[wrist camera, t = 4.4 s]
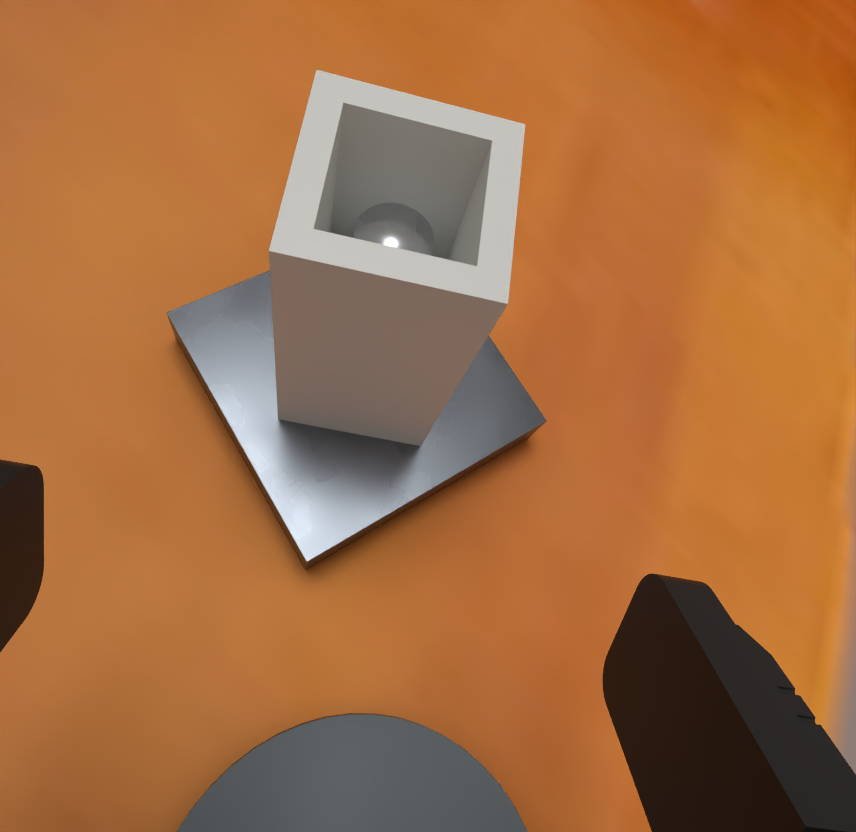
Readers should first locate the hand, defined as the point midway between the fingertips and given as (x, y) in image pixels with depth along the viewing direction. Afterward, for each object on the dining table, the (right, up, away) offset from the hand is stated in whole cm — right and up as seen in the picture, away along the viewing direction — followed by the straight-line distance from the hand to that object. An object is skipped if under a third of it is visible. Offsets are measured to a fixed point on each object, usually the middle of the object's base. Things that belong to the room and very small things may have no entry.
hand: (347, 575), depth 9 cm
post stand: (-2, +3, +17) cm, 17 cm away
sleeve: (-1, +4, +15) cm, 15 cm away
